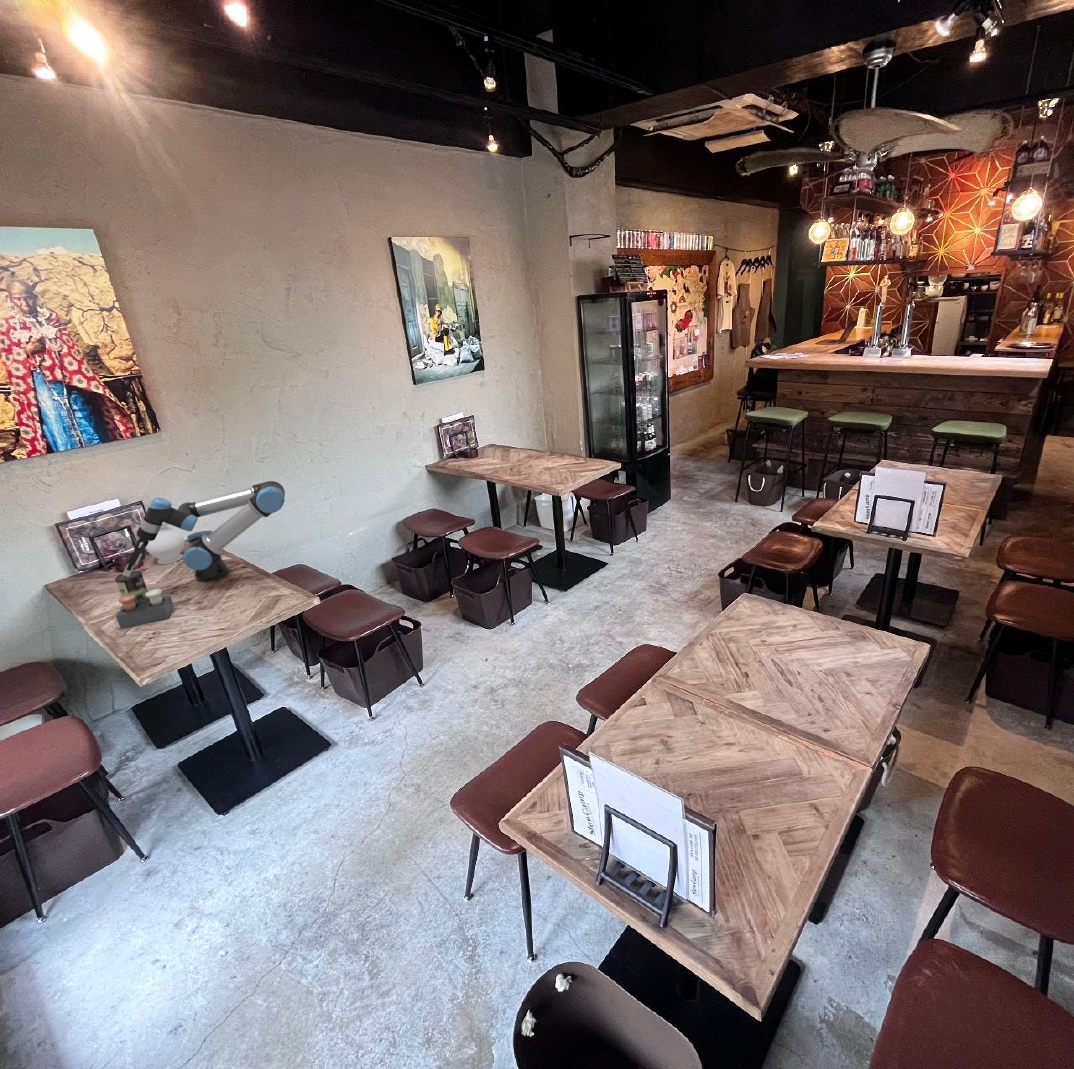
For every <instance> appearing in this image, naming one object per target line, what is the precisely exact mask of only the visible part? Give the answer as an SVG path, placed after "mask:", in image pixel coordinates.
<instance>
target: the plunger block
mask: <svg viewBox="0 0 1074 1069" xmlns="http://www.w3.org/2000/svg"><path fill="white" fill-rule="evenodd" d="M161 597H162V600H163V604H160V605H155V606H152V605H151V603H150V600H149V599H147V600H142V601H137V602H135V603H136V606H137V608H136V609H135V610H130V611H125V610H124V607H123V605H122V606H121V608H120V609H119V611H118V612H117V614H116V616H115V617H116V620H117V623H118V625H119V628H120V629H126V628H127V629H128V628H131V627H136V626H141V625H145V624H149V623H155V622H159V621H165V620H169V619H170V617H171V615H172V612H173V610H174V608H175V605H174V602H173V599H172V596H171V594H167V595H163V596H162V595H161Z"/></svg>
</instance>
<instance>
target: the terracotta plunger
mask: <svg viewBox="0 0 1074 1069" xmlns="http://www.w3.org/2000/svg"><path fill="white" fill-rule="evenodd" d="M135 598H136V597H135V594H128V595H124V596H121V597H118V602H119V604H122V606H123V607H124V610H125V611H130V610H135V609H136V608H137V606H136V603H135V601H134V599H135Z"/></svg>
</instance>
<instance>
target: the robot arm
mask: <svg viewBox="0 0 1074 1069" xmlns="http://www.w3.org/2000/svg"><path fill="white" fill-rule="evenodd" d="M285 496H286V490H285V488H284V487H283V485H282V484H281V483H280V482H277V481H275V480H268V481H264V482H261V483H257V484H256V483H255V484H253V485H252V486H250V488H246V489H242V490H236V491H233V492H229V493H226V494H222V495H217V496H213V497H209V498H205V499H201V500H197V501H192V502H191V501H186V502H183V503H181V504H180V505H179V507H178V508H174V507H172V502H171V501H170V500H168V499H167V498H163V497H154V498H153V499H152V501H151V502H150V505H149V506H148V509H147V510H146V512H145V514H144V517H143V519H141V520H140V522H141V523H140V526H139V527H138V529H137V531H136V534H135V535H136V536H137V537H138V538H139V539H138V540H137V542H136V545H135V547H134V550H133V552H132V554H131V555H130V558H129V560H126V566H125V568H124V570H123V572H122V575H124V576H127V577H129V576H130V574H131V572H132V571H134V570H133V569H134V567H135V566H136V567H137V565H138V564H139V562H140V560H141V557H143V556H142V555H143V554H145V553H146V546H147V545H148V543H149V541H153V540H155V538H156V536H157V534H158V532H159V530H160V528H161V526H162V524H163V522H164V523H167V524H168V525H171V526H173V527H175V528H178V529H181V530H183V531H186V532H192V531H193V530H194V528H195V526H196V523H197V522H198V519H199V518H201V517H205V516H209V515H213V514H216V513H221V512H224V511H228V510H232V509H236V508H240V507H242V508H240V509H239V510H238V511H237V512H235V514H233V516H231V517H230V518H229V519H227V520H226V521H225V522H223V523H222V524H221V525H219V526H218V527H217V528H215V530H214V531H212V530H202V531H196V532H193V533H191V534H190V533H189V535H187V537H186V539H187V540H186V541H187V542H188V545H187V546H186V547H187V548H186V549H185V551H184V552H183V558H182V559H183V562H184V564H185V565H186V567H188V568H189V569H190V570H193V571H194V578H195V581H197V582H198V583H199V582H200V583H202V582H203V583H205V582H212V581H216V580H219V579H221V578H223V577H226V576H227V575H228V574H229V573H230V570H229V566H228V565H227V564H226V562H225V561H224V559H223V558H222V556H221V554H223V549H224V548H225V547H226V546H228V545H229V544H231V542H233V541H234V540H235V539H237V538H238V537H239V536H241V535H242V534H243V533H245V531H247V530H248V529H249V528H251V526H253V525H254V524H255V523H257V522H258V521H259V520H260V519H262V518H268V517H269V516H270V515H272V514H274V513H276V512H278V511H280V510H282V508H283V506H284V505H285Z"/></svg>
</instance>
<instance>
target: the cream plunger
mask: <svg viewBox="0 0 1074 1069" xmlns="http://www.w3.org/2000/svg"><path fill="white" fill-rule="evenodd" d="M162 594H163V592H162V589H161V588H155V589H151V590H148V592H146V593H145V595H146V597H147V598H149V600H150V603H151V605H152V606H155V605H160V604H163V600H162Z"/></svg>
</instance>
